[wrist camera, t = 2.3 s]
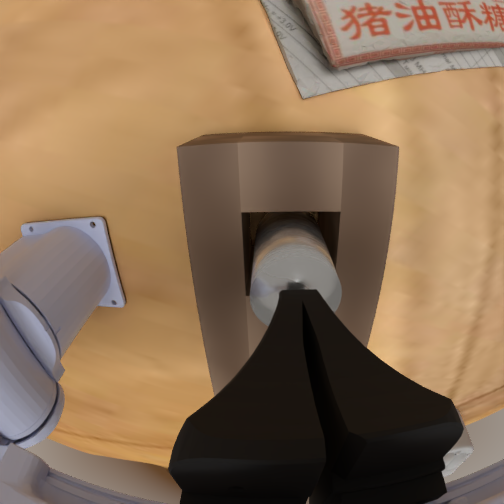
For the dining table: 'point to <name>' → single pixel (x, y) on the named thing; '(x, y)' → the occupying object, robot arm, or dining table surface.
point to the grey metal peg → (290, 262)
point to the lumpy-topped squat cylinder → (458, 452)
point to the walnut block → (282, 200)
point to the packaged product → (383, 39)
